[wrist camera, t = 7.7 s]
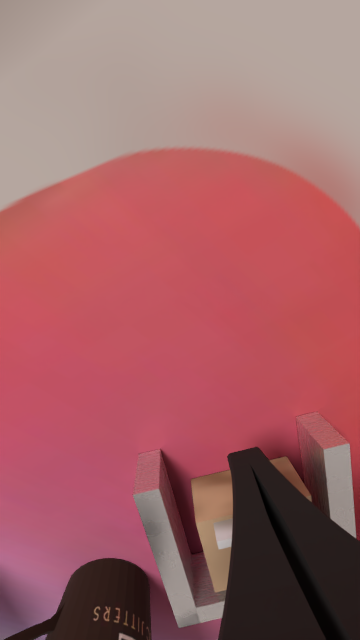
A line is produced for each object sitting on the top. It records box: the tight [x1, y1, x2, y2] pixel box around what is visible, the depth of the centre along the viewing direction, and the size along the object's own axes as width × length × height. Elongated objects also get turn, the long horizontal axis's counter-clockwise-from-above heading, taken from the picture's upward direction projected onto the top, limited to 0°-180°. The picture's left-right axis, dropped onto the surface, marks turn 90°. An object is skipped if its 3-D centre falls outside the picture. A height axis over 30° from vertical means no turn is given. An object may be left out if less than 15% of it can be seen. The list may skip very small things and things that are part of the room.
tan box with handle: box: [191, 456, 312, 593], centre depth 16 cm, size 7×6×4 cm
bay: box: [133, 412, 356, 628], centre depth 16 cm, size 12×12×3 cm
